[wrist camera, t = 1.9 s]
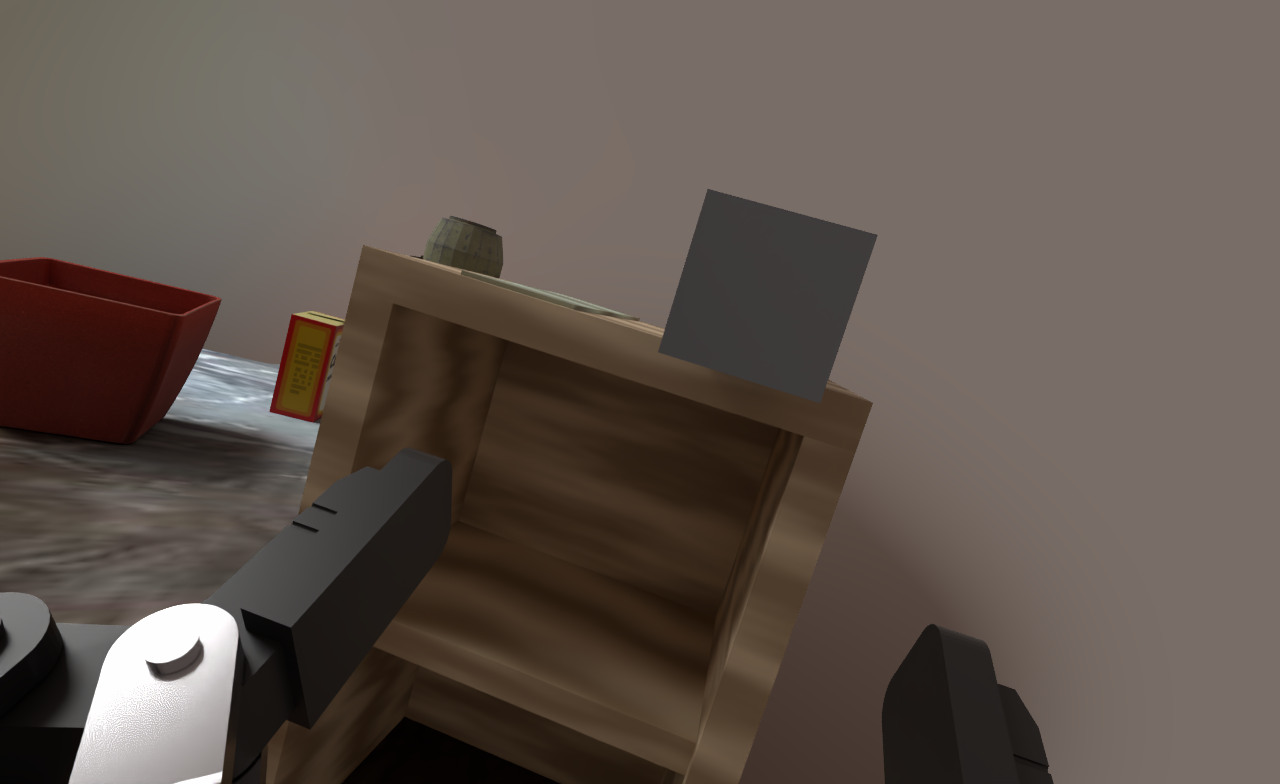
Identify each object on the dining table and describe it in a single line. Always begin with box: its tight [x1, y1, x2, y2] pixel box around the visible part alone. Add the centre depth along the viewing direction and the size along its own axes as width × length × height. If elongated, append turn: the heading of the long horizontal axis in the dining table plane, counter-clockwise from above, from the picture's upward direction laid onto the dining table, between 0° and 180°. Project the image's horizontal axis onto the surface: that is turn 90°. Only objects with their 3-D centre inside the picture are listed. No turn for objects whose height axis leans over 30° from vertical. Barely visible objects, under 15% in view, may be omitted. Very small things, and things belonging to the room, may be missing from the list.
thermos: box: [410, 216, 503, 278], centre depth 67 cm, size 9×12×35 cm
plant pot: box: [0, 257, 221, 444], centre depth 75 cm, size 19×19×17 cm
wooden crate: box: [266, 245, 873, 784], centre depth 36 cm, size 16×22×31 cm
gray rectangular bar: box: [658, 189, 877, 403], centre depth 28 cm, size 26×5×5 cm, turn 169°
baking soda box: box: [270, 311, 345, 423], centre depth 104 cm, size 10×6×16 cm
